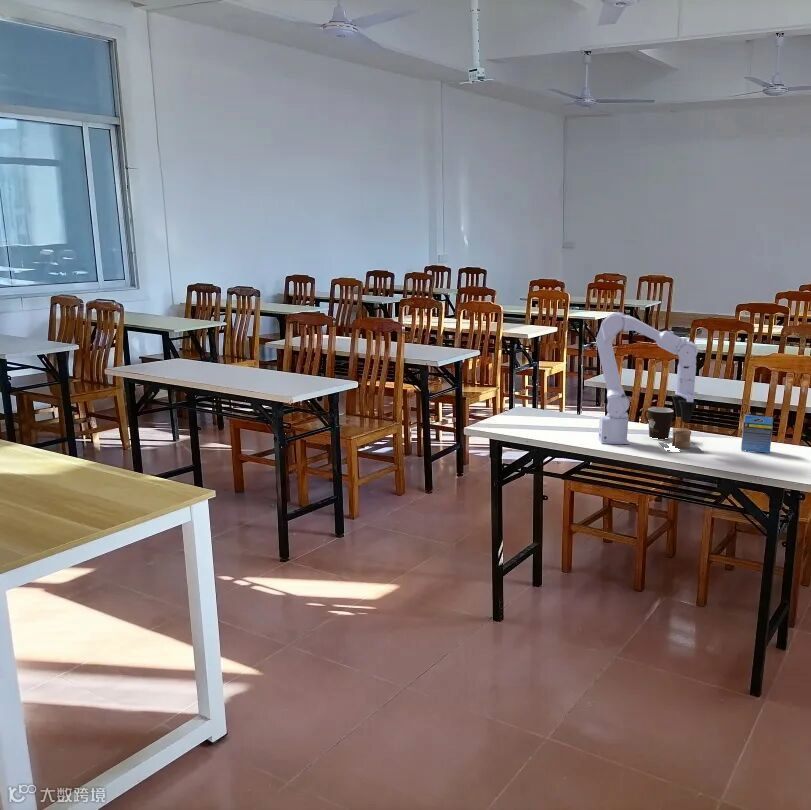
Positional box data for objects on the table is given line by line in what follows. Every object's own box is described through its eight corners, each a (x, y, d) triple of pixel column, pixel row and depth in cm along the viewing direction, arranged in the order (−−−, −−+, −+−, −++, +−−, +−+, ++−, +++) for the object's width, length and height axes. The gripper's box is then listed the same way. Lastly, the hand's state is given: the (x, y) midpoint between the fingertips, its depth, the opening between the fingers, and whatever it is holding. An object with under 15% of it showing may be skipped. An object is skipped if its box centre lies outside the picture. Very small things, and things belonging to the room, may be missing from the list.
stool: (674, 448, 275) (675, 430, 274) (671, 445, 279) (672, 427, 278) (689, 448, 274) (691, 431, 273) (686, 445, 279) (688, 428, 278)
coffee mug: (674, 440, 287) (676, 412, 285) (649, 440, 287) (651, 412, 285) (665, 433, 298) (667, 406, 296) (641, 432, 299) (642, 405, 297)
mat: (666, 452, 271) (666, 451, 271) (658, 443, 283) (658, 442, 283) (703, 453, 271) (703, 452, 271) (694, 444, 282) (694, 443, 282)
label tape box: (769, 451, 275) (773, 414, 272) (769, 454, 271) (773, 417, 268) (740, 448, 278) (744, 412, 275) (740, 451, 274) (744, 414, 272)
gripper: (704, 383, 265) (701, 424, 268) (692, 375, 279) (689, 415, 282) (682, 382, 265) (678, 423, 268) (671, 375, 280) (668, 414, 282)
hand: (682, 419), depth 275 cm, fingers open, 7 cm apart
